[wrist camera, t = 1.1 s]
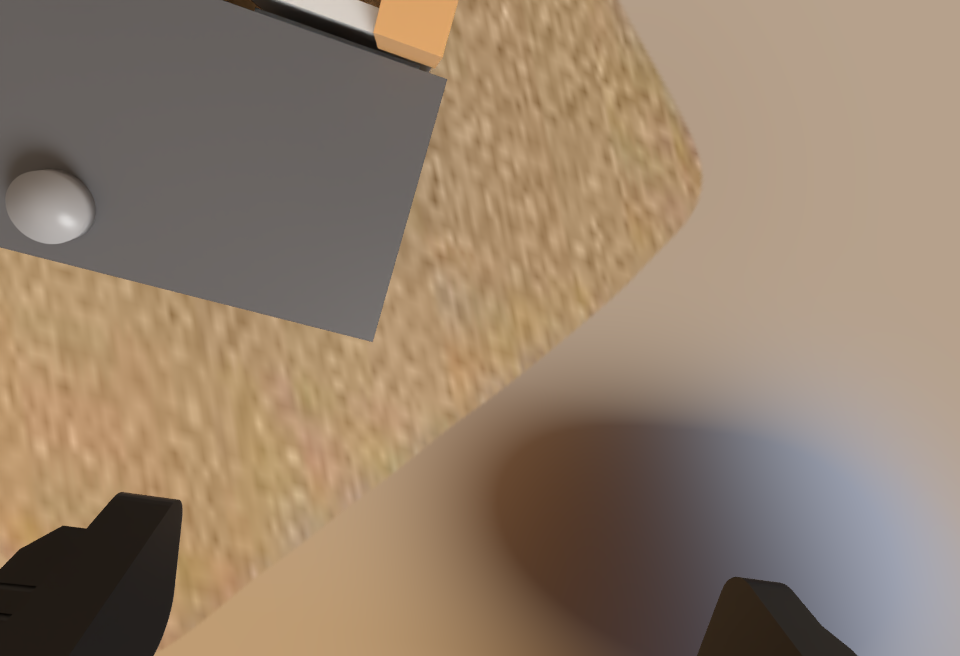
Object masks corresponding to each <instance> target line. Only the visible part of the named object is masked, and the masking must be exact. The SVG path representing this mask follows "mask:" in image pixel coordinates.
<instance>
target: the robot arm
mask: <svg viewBox="0 0 960 656" xmlns="http://www.w3.org/2000/svg"><path fill="white" fill-rule="evenodd" d="M181 523H182V503H181V501H180V500H176V499H169V498H162V497H154V496H147V495H140V494H132V493H125V492H120V493H118V494H117V495H116V496H115V497H114V498H113V499H112V500H111V501H110V502H109V503H108V504H107V506H106V507H105V508H104V509H103V510H102V511H101V512H100V514H99V515H98V516H97V517H96V518H95V519H94V521H93V522H92V523H91V524H90V525H89V526H88V528H87V529H85V528H77V527H69V526H62V527H60V528H58V529H56V530H54V531H52V532H51V533H49V534H47V535H45V536H43V537H41V538H40V539H38V540H36V541H34V542H32V543H30V544H29V545H27V546H25V547H23V548H21V549H19V551H18V552H17V553H16V554H15V555H14V556H13V557H12V558H11V559H10V560H9V561H8V562H7V563H6V564H5V565H4V566H3V567H2V568H1V569H0V656H154V654H155V652H156V650H157V648H158V646H159V644H160V641H161V639H162V636H163V634H164V631H165V628H166V625H167V622H168V619H169V615H170V611H171V607H172V602H173V597H174V588H175V579H176V570H177V560H178V551H179V542H180V533H181ZM697 656H857V655H856V654H855V653H854V652H853V651H852V650H851V649H850V648H849V647H847V646H846V645H845V644H844V643H842V642H841V641H840V640H839V639H837V638H836V637H835V636H834V635H832V634H831V633H830V632H829V631H828V630H826V629H825V628H824V627H822V626H821V624H820V623H819V622H818V621H817V620H816V618H815V617H814V616H813V615H812V614H811V612H810V611H809V610H808V609H807V608H806V606H805V605H804V604H803V603H802V602H801V600H800V599H799V598H798V597H797V596H796V594H795V593H794V592H793V591H792V590H791V589H790V588H789V587H788V586H787V585H785V584H783V583H778V582H770V581H763V580H755V579H748V578H741V577H733V578H731V579H729V580H728V581H727V582H726V584H725V585H724V587H723V589H722V591H721V594H720V597H719V599H718V602H717V605H716V607H715V610H714V612H713V615H712V618H711V620H710V623H709V626H708V628H707V631H706V634H705V636H704V639H703V641H702V644H701V647H700V649H699V652H698V655H697Z"/></svg>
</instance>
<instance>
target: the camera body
mask: <svg viewBox="0 0 960 656" xmlns="http://www.w3.org/2000/svg"><path fill="white" fill-rule="evenodd" d="M419 67H420V65H417V64H414V63H411V62H409V61H406V60H403V59H400V58H397V57H394V56H392V55H389V54H386V53H383V52H380V51H378V50H375V49H372V48H369V47H366V46H363V45H361V44H358V43H355V42H352V41H349V40H346V39H344V38H341V37H338V36H335V35H332V34H329V33H327V32H324V31H321V30H318V29H315V28H312V27H310V26H307V25H304V24H301V23H298V22H295V21H293V20H290V19H287V18H284V17H281V16H278V15H276V14H273V13H270V12H267V11H264V10H261V9H259V8H256V7H255V12H254V11H251V10H249V9H246V8H243V7H240V6H237V5H234V4H232V3H229V2H226V1H223V0H0V247H1V248H5V249H9V250H13V251H17V252H21V253H25V254H28V255H32V256H36V257H40V258H44V259H48V260H52V261H56V262H60V263H64V264H68V265H72V266H76V267H80V268H84V269H88V270H91V271H95V272H99V273H103V274H107V275H111V276H115V277H119V278H123V279H127V280H131V281H135V282H139V283H143V284H147V285H151V286H154V287H158V288H162V289H166V290H170V291H174V292H178V293H182V294H186V295H190V296H194V297H198V298H202V299H206V300H210V301H214V302H217V303H221V304H225V305H229V306H233V307H237V308H241V309H245V310H249V311H253V312H257V313H261V314H265V315H269V316H273V317H276V318H280V319H284V320H288V321H292V322H296V323H300V324H304V325H308V326H312V327H316V328H320V329H324V330H328V331H332V332H336V333H339V334H343V335H347V336H351V337H355V338H359V339H363V340H367V341H371V342H373V339H374V335H375V332H376V328H377V325H378V321H379V318H380V314H381V311H382V307H383V304H384V300H385V296H386V293H387V289H388V286H389V282H390V279H391V275H392V272H393V268H394V265H395V261H396V258H397V254H398V251H399V247H400V244H401V240H402V237H403V233H404V229H405V226H406V222H407V219H408V215H409V212H410V208H411V205H412V201H413V198H414V194H415V191H416V187H417V184H418V180H419V177H420V173H421V170H422V166H423V163H424V159H425V155H426V152H427V148H428V145H429V141H430V138H431V134H432V131H433V127H434V124H435V120H436V117H437V113H438V110H439V106H440V103H441V99H442V96H443V92H444V89H445V85H446V81H447V79H445V78H442V77H439V76H436V75H433V74H431V73H428V72H425V71H422V70H419Z"/></svg>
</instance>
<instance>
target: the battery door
mask: <svg viewBox="0 0 960 656" xmlns="http://www.w3.org/2000/svg"><path fill="white" fill-rule="evenodd" d="M252 1H253V2H254V3H255V4H256V5H258V6H259V7H260V8H261V9H263V10H264V11H267V12H270V13H273V14H276V15H278V16H281V17H284V18H287V19H290V20H293V21H295V22H298V23H301V24H304V25H307V26H310V27H312V28H315V29H318V30H321V31H324V32H327V33H329V34H332V35H335V36H338V37H341V38H344V39H346V40H349V41H352V42H355V43H358V44H361V45H363V46H366V47H369V48H372V49H375V50H378V51H380V52H383V53H386V54H389V55H392V56H394V57H397V58H400V59H403V60H406V61H409V62H411V63H414V64H417V65H420V67H419V70H422V71H425V72H428V73H429V71H430V69H431V68H436V66H437V65H438V63H439V62H440V60H441V59H442V57H443V54H444V50H445V47H446V43H447V39H448V36H449V32H450V29H451V25H452V22H453V18H454V14H455V11H456V7H457V4H458V0H381V4H380V8H378V7H375V6H372V5H370V4H367V3H364V2H362V1H359V0H252Z"/></svg>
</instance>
